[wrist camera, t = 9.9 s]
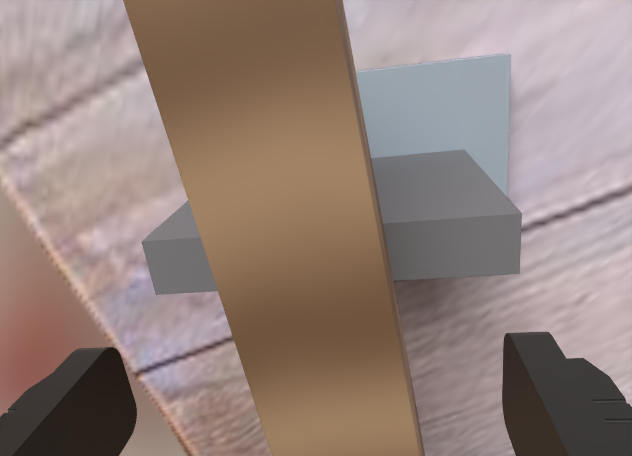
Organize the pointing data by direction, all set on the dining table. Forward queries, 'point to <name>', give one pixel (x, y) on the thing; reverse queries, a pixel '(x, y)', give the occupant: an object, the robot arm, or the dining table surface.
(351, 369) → the walnut bar
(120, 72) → the dining table surface
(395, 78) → the fulcrum board
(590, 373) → the robot arm
